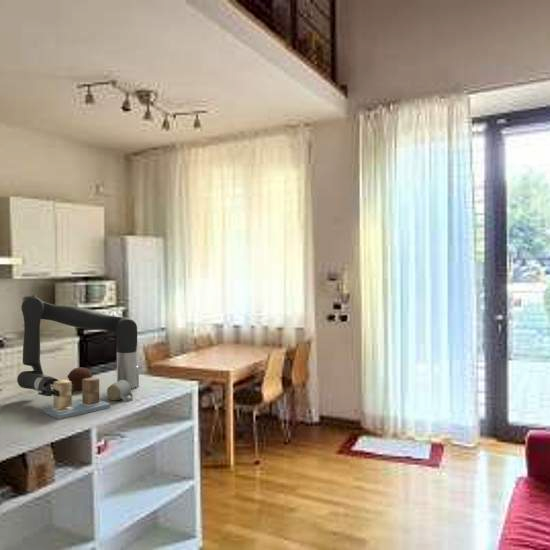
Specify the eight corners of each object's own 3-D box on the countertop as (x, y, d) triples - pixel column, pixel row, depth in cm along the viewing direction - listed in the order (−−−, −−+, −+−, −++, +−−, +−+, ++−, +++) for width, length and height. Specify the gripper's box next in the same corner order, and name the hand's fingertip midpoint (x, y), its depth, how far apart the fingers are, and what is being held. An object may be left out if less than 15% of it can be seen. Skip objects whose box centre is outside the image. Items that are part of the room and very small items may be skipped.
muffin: (97, 389, 252) (96, 368, 251) (73, 393, 244) (73, 371, 244) (86, 385, 261) (86, 364, 260) (63, 388, 253) (63, 367, 253)
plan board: (93, 401, 232) (93, 397, 232) (110, 407, 222) (110, 403, 222) (43, 411, 216) (42, 408, 216) (58, 419, 206) (58, 415, 206)
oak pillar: (65, 403, 218) (65, 379, 218) (71, 406, 214) (71, 381, 214) (53, 406, 214) (53, 381, 214) (59, 408, 211) (59, 383, 210)
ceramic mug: (105, 400, 233) (105, 383, 232) (116, 395, 240) (116, 378, 240) (126, 403, 229) (126, 385, 229) (137, 398, 237) (137, 381, 237)
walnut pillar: (93, 400, 227) (93, 377, 226) (99, 402, 223) (99, 379, 223) (82, 402, 223) (82, 379, 223) (88, 405, 220) (87, 381, 219)
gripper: (29, 379, 219) (47, 386, 207) (63, 373, 229) (82, 380, 217) (29, 397, 219) (47, 405, 207) (63, 391, 229) (82, 398, 218)
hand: (65, 392), depth 212 cm, fingers closed on oak pillar, 5 cm apart
